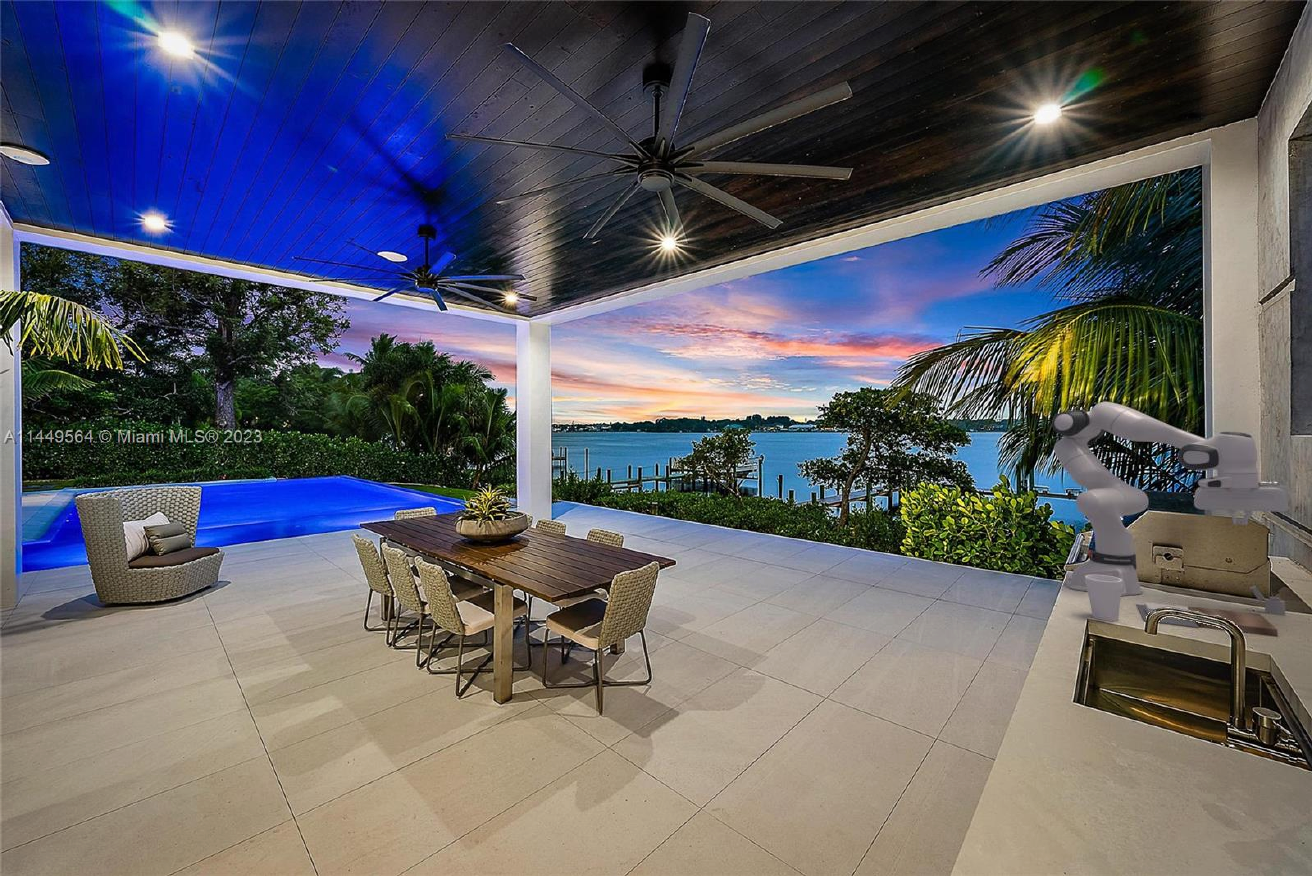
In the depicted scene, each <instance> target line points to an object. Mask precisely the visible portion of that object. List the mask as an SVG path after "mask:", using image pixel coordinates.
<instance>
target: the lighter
mask: <svg viewBox="0 0 1312 876" xmlns="http://www.w3.org/2000/svg"><path fill="white" fill-rule="evenodd" d="M1249 589H1250V590H1251V592H1252V593H1253V595H1254V596H1255V597H1256V599H1257V600H1258V601H1264V613H1265V614H1271V615H1276V616H1277V615H1278V616H1284V617H1285V616H1286V603H1285V602H1286V601H1285V600H1282V598H1280V597H1277V596H1269V598H1265V597H1264V595H1263V594H1262V592H1261V591H1260V590H1259V588H1258V587H1257V586H1255V585H1253V586H1250V587H1249Z"/></svg>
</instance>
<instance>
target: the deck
mask: <svg viewBox="0 0 1312 876" xmlns="http://www.w3.org/2000/svg"><path fill="white" fill-rule="evenodd" d="M1187 608H1188V609H1189V610H1191V611H1199V612H1202V613H1205V614H1208V615H1219V616H1221V617H1222V618H1226V620H1230V621H1233V622H1234V623H1235V625H1238V627H1239V628H1240V629H1241V630H1242V631H1243V632H1242V633H1245V632H1249V633H1248V634H1256V635H1262V636H1263V635H1264V636H1270V635H1271V636H1272V637H1279V635H1278V634H1279V633H1278V629H1277V628H1276V626H1274V625H1273V624H1272V623H1271V622H1269V620H1267V619H1266V618H1265V617H1264V616H1263V615H1262V614H1260V613H1252V612H1244V611H1235V610H1234V611H1233V610H1225V609H1215V608H1207V607H1196V606H1189V605H1188V606H1187ZM1195 623H1196V624H1197V625H1198V627H1199V628H1205V629H1206V628H1207V629H1213V630H1214V629H1215V630H1223V631H1225V630H1224V629H1221V628H1218V627H1216V626H1212V625H1207V624H1203V623H1198V622H1195ZM1271 636H1270V637H1271Z"/></svg>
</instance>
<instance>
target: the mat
mask: <svg viewBox="0 0 1312 876" xmlns="http://www.w3.org/2000/svg"><path fill="white" fill-rule="evenodd" d="M1135 605H1136V607H1137V610H1138V612H1139V613H1140V616H1141V619H1142V620H1143V621H1144V622H1145V620H1146V616H1147V615H1148V614H1147V612H1146V610H1145V604H1138V603H1136V604H1135ZM1158 624H1161V625H1162V624H1163V625H1170V626H1179V627H1187V628H1195V629H1199V628H1200V627H1199V626H1198V625H1197V624H1196V622H1194V621H1186V620H1177V619H1169V618H1164V619H1162V620H1160V622H1159V623H1158Z"/></svg>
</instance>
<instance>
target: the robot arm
mask: <svg viewBox="0 0 1312 876" xmlns="http://www.w3.org/2000/svg"><path fill="white" fill-rule="evenodd" d="M1051 424H1052V426H1051V427H1052V428H1053V430H1054V431H1055V432H1056V434H1059V435H1061V436H1062V437H1061V439H1059V440H1058V441H1056V443H1055V444H1054V446H1053V451H1054V455H1056V458H1057V459H1058V462H1059V463H1060V464H1061V465H1062V467H1063V469H1064V470H1065V471H1066V472H1067V473H1068V474H1069V476H1070V478H1071V479H1072V480H1073V481H1074V483H1075V484H1076V485H1078V486H1080V487H1082V488H1084V489H1087V490H1085V491H1082V492H1080V493H1079V494H1078V495H1077V497H1076V500H1075V505H1076V508H1077V510H1078V511H1079V512H1080V513H1081V514H1082V515H1083V516H1085V518H1087V519H1088V521H1089V522H1090V525H1091V527H1092V530H1093V534H1094V543H1095V546H1094V547H1095V550H1094V551H1093V550H1092V549H1088V550H1086V552H1087V555H1088V558H1089V560H1088V561H1085V562H1083V563H1082V564H1080V565H1078V566H1076V567H1075V568H1074V569H1073V571H1072V574H1071V578H1068V579H1066V580H1065V582H1064V583H1065V586H1066V587H1067V588H1068V589H1070V590H1075V591H1082V592H1088V591H1087V586H1086V584H1085V576H1086V575H1107V576H1113V577H1117V578H1120V579H1122V586H1123V588H1122V590H1121V597H1125V596H1134V595H1140V594H1142V593H1143V590H1142V587H1141V585H1140V582H1139V578H1138V574H1137V567H1138V560H1137V559H1138V558H1137V556H1136V553H1135V546H1134V534H1133V533H1132V531H1131V530H1130V529H1128V528H1126V527H1125V525H1124V524H1123V521H1122V518H1121V517H1122V516H1132V515H1136V514H1139V513H1141V512H1144V511H1145V510H1146V509H1147V508H1148V507H1149V503H1150V502H1149V498H1148V495H1147V493H1146V492H1144V491H1143V490H1142V489H1140V488H1137V487H1134V486H1132V485H1130V484H1128V483H1126V482H1125V481H1124V480H1122V479H1120V478H1119V477H1118V476H1117V475H1115V474H1113V473H1112V472H1111V471H1110V470H1108V468H1107V467H1105V465H1104V464H1103V463H1102V462H1101V461H1100V459H1099V458H1098V457H1097V456H1096V455H1095V454H1094V453H1093V452H1092V450H1091V449H1090V448H1089V446H1090V445H1092V444H1094V443H1095V441H1096V440H1098V439H1100V438H1101V437H1102V436H1103V434H1104V433H1105V432H1108V433H1110V434H1112V435H1114V436H1116V437H1119V438H1122V439H1124V440H1128V441H1132V442H1152V443H1162V444H1166V445H1170V446H1172V447H1175V448H1177V449H1179V451H1178V454H1177V459H1178V462H1179V464H1181V466H1182V467H1183V468H1185V469H1188V470H1191V471H1198V472H1199V471H1214V470H1216V473H1217V475H1216V476H1212V477H1211V476H1210V477H1207V478H1202V479H1199V480H1198V481H1197V484H1198V486H1199V487H1197V488H1196V490H1195V492H1194V499H1193V506H1194V507H1195V508H1196V509H1198V510H1207V511H1208V510H1209V511H1226V512H1227V514H1228V515H1229V516H1230V517H1231V519H1232V523H1233V525H1240V526H1241V525H1243V526H1245V525H1246V526H1247V525H1249V524H1248V523H1249V522H1248V520H1249V519H1250V518H1251V516H1253V512H1278V513H1283V512H1287V510H1289V503H1288V500H1287V495H1288V486H1287V485H1286V484H1284V483H1281V482H1279V481H1260V480H1259V471H1258V468H1257V461H1258V453H1257V452H1258V450H1257V445H1256V441H1255V440H1254V437H1253V436H1252V435H1251V434H1248V433H1245V432H1239V431H1221V432H1218V433H1217V434H1215V435H1214V436H1212V437H1209V438H1207V437H1203V436H1200V435H1197V434H1195V433H1192V432H1189V431H1186V430H1184V429H1181V428H1177V427H1176V426H1173V425H1170V424H1167V423H1165V422H1163V421H1161V420H1158V419H1156V418H1154V417H1152V416H1149V415H1147V414H1145V413H1143V412H1140V411H1139V410H1136V409H1134V408H1131V407H1128V406H1126V405H1122V404H1119V403H1115V402H1111V401H1102V402H1099V403H1097V404H1096V405H1094V406H1093V407H1092V409H1090V410H1089V411H1086V410H1084V409H1075V410H1074V409H1073V410H1072V409H1069V410H1063V411H1061V412H1058V413H1056V414H1055V415H1054V417H1053V418H1052V422H1051ZM1236 511H1239V512H1240V511H1242V512H1243V513H1244V514H1245V515H1244V516H1243V518H1238V517H1236V516H1235V515H1234V514H1236Z"/></svg>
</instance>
